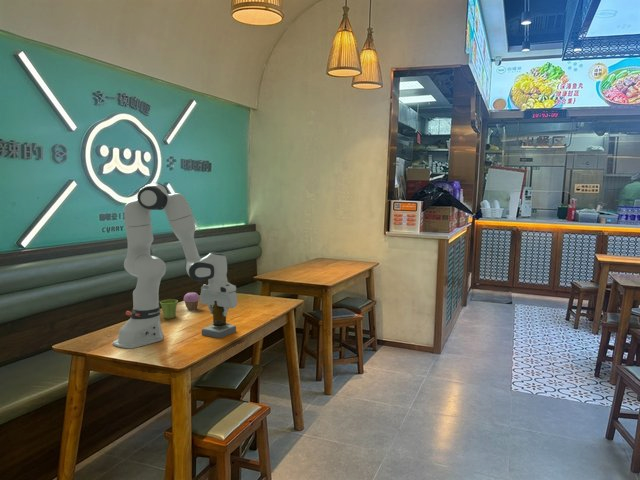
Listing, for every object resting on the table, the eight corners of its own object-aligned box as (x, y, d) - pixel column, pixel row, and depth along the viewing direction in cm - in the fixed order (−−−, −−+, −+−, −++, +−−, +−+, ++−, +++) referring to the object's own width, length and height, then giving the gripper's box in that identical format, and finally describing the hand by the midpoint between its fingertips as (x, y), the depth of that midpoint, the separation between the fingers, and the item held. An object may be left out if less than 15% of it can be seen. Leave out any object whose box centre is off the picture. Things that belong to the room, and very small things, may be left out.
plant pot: (157, 319, 246) (157, 303, 245) (163, 314, 255) (162, 299, 254) (175, 319, 246) (175, 303, 245) (180, 314, 256) (180, 299, 255)
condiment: (222, 321, 228) (222, 297, 227) (231, 325, 221) (230, 300, 220) (209, 324, 223) (208, 299, 222) (217, 328, 217) (216, 302, 216)
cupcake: (202, 308, 268) (202, 291, 267) (191, 312, 261) (190, 294, 260) (192, 306, 273) (191, 290, 272) (180, 309, 266) (180, 292, 265)
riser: (219, 338, 215) (219, 332, 215) (201, 334, 220) (201, 328, 220) (236, 331, 226) (236, 325, 226) (218, 328, 231) (218, 322, 231)
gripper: (196, 285, 223) (197, 313, 224) (230, 289, 213) (231, 319, 215) (205, 283, 228) (206, 310, 230) (239, 287, 219) (239, 316, 220)
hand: (218, 314), depth 222 cm, fingers closed on condiment, 6 cm apart
